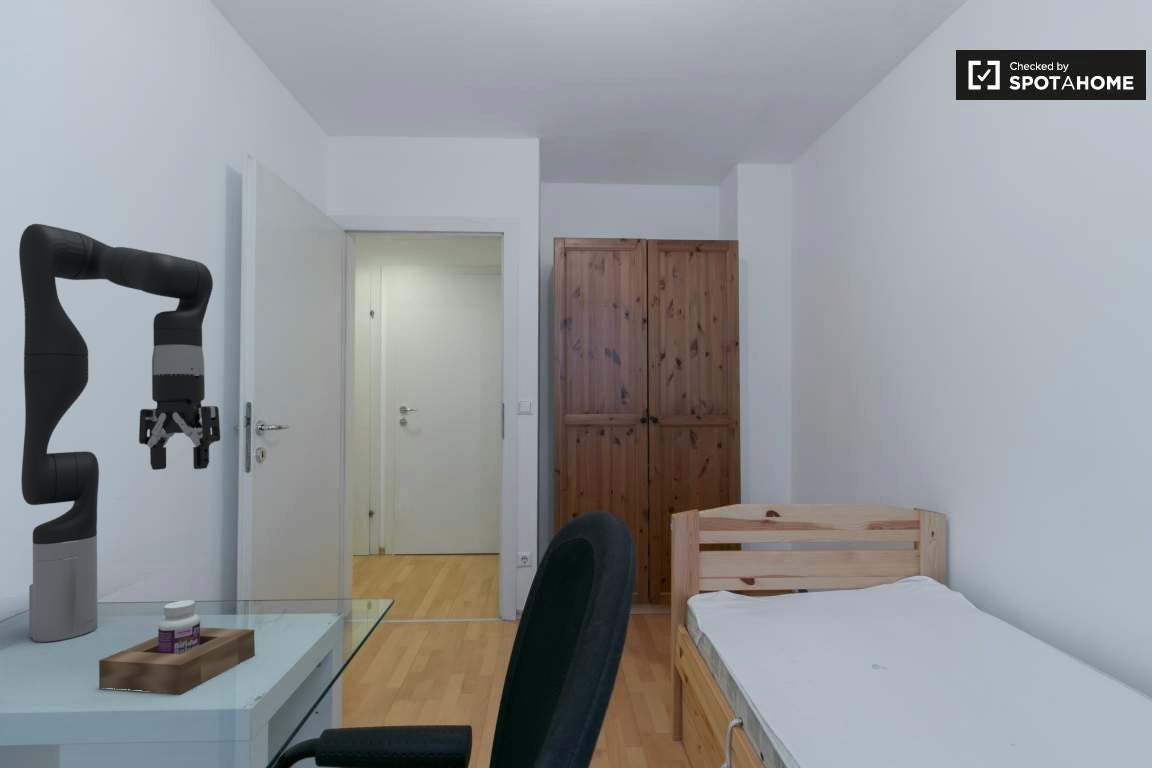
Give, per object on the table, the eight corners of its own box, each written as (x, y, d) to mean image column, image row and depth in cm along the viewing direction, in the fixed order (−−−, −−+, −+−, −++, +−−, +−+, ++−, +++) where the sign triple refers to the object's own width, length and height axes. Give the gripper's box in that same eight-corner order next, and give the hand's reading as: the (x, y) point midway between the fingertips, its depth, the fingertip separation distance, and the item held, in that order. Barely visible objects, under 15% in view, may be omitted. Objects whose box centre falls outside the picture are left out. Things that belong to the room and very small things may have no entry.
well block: (99, 688, 89) (99, 660, 89) (182, 651, 102) (181, 626, 102) (180, 694, 85) (179, 665, 86) (254, 655, 99) (254, 629, 99)
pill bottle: (178, 677, 91) (178, 610, 91) (149, 674, 92) (149, 608, 92) (208, 662, 96) (208, 599, 96) (180, 660, 97) (180, 597, 98)
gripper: (124, 374, 104) (125, 472, 103) (195, 370, 100) (196, 470, 100) (163, 376, 111) (164, 467, 110) (231, 372, 108) (232, 466, 107)
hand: (179, 469), depth 105 cm, fingers open, 8 cm apart
